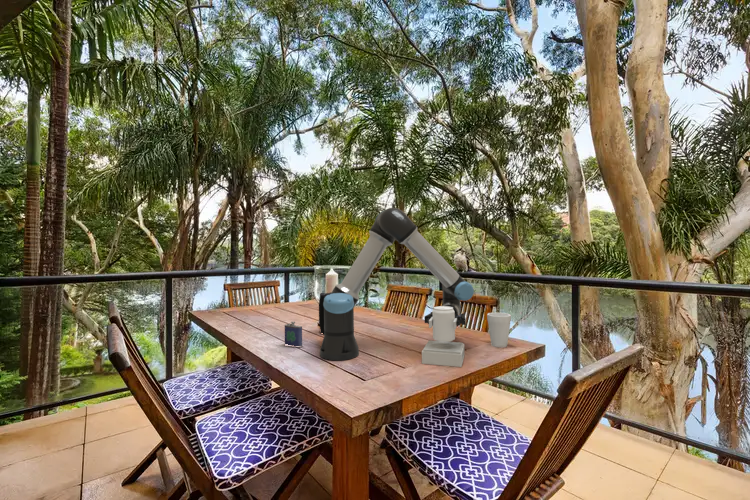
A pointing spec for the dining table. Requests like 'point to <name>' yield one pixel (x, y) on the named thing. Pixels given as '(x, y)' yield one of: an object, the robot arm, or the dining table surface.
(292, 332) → the flask
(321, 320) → the portable speaker
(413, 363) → the dining table surface
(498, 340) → the foam cup
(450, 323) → the beverage can
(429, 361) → the pedestal
